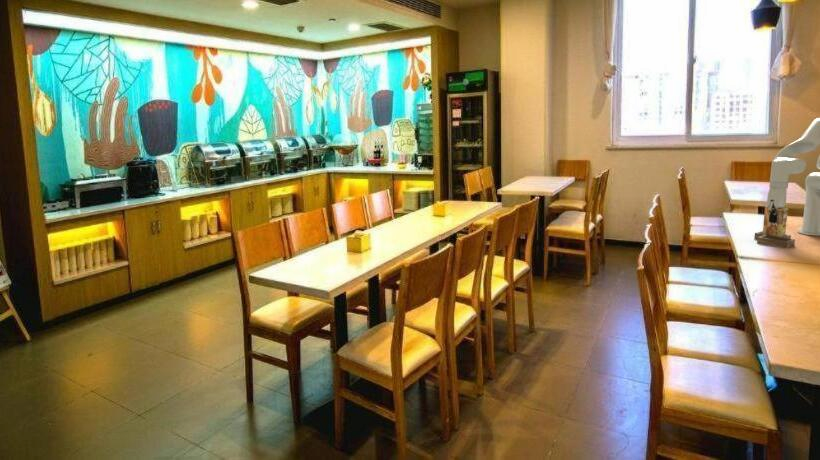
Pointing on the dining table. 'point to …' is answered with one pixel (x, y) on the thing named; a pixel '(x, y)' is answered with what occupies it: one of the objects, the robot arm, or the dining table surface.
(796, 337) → the dining table surface
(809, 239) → the dining table surface
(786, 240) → the holder
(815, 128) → the robot arm
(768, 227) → the candy box
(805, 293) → the dining table surface
